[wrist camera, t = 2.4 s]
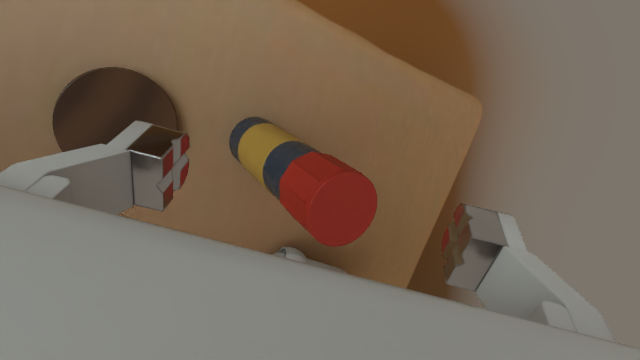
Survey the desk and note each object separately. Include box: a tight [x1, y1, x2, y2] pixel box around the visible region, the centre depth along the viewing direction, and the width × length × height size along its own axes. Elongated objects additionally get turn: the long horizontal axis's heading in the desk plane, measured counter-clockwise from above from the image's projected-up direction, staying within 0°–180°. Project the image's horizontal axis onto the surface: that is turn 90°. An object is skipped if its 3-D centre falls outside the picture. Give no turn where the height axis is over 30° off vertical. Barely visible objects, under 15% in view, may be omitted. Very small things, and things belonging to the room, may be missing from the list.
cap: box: [280, 151, 377, 246], centre depth 31 cm, size 6×6×5 cm
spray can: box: [230, 117, 321, 201], centre depth 38 cm, size 5×5×16 cm
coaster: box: [53, 67, 177, 152], centre depth 38 cm, size 10×10×1 cm
